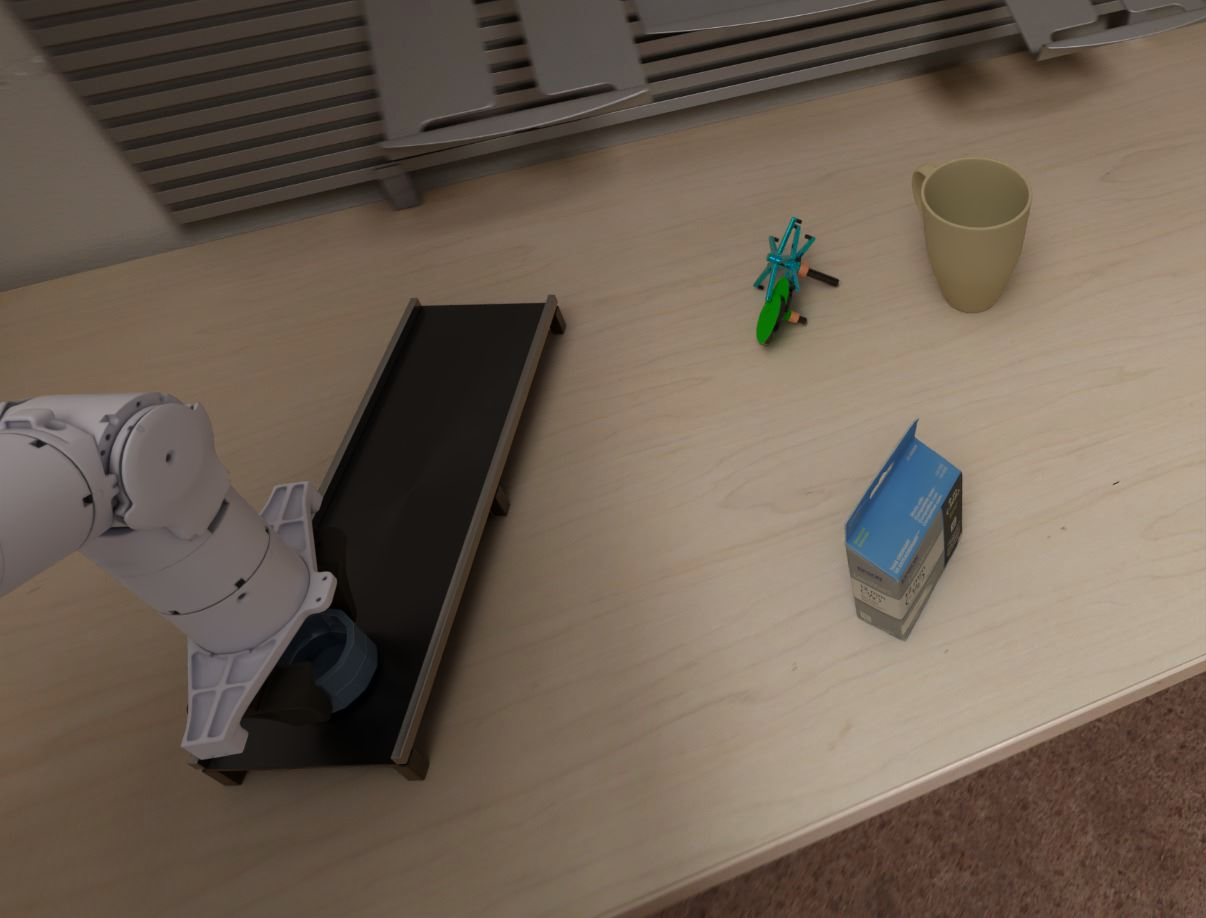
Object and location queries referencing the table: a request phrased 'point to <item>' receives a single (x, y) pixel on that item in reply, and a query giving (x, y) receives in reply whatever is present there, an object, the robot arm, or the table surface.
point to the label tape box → (903, 535)
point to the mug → (972, 226)
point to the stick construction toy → (785, 282)
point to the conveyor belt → (411, 521)
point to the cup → (334, 655)
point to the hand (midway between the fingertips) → (326, 668)
